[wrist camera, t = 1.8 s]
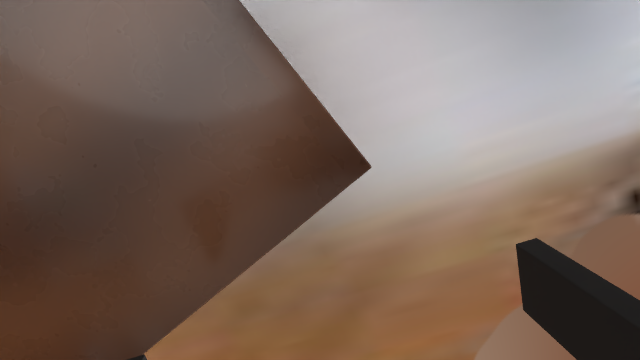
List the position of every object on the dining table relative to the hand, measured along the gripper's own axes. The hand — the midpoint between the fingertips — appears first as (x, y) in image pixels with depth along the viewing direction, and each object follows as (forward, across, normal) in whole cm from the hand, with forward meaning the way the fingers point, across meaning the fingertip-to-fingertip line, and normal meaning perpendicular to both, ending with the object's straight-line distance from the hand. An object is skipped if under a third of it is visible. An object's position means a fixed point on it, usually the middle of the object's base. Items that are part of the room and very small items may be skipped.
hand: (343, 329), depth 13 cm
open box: (+27, -12, +6) cm, 30 cm away
